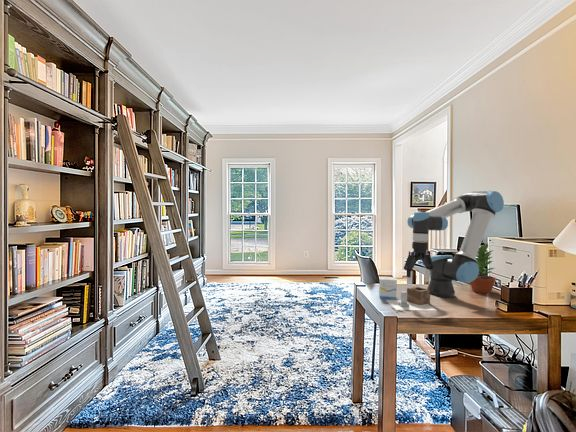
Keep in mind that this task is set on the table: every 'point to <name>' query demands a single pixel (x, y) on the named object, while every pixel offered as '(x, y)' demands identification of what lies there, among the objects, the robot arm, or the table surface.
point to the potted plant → (483, 272)
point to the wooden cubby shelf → (418, 295)
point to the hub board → (407, 304)
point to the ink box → (388, 288)
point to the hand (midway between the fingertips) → (418, 282)
